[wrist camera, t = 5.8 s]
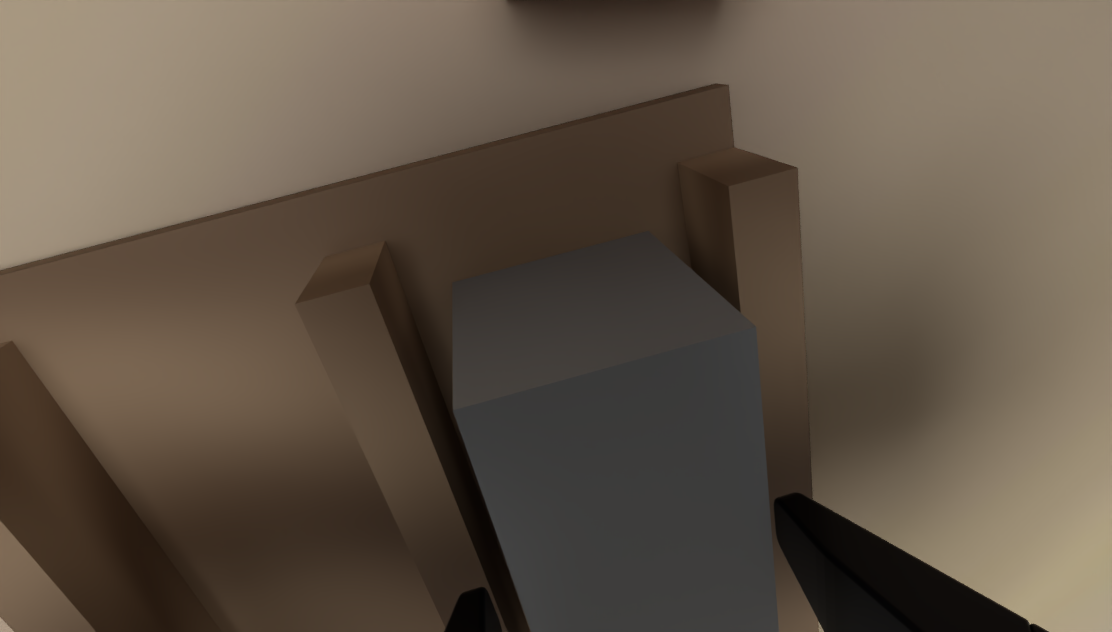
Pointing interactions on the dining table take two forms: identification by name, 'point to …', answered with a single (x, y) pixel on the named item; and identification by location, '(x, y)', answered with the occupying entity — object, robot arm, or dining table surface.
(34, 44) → the dining table surface
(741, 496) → the tall slate pillar
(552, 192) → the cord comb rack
